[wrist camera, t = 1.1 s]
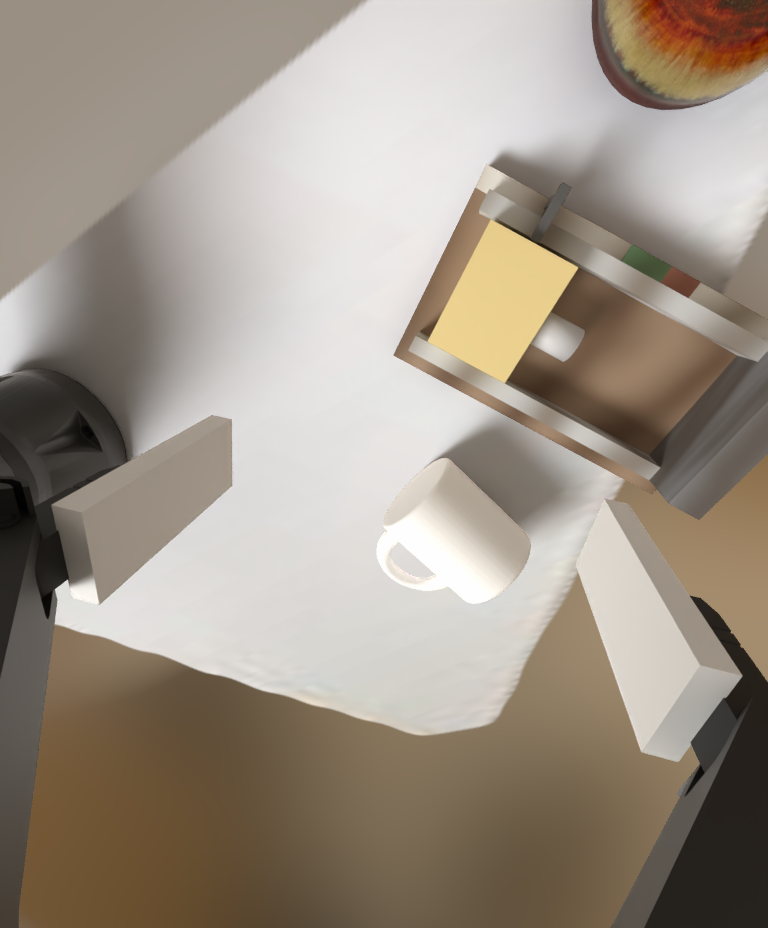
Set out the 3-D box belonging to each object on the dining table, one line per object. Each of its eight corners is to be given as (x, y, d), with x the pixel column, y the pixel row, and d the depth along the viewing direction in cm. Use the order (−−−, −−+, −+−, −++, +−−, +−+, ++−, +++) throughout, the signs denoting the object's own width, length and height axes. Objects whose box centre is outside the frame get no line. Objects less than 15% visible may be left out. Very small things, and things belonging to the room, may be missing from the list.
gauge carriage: (432, 333, 33) (427, 341, 29) (516, 172, 28) (523, 156, 24) (534, 388, 33) (543, 404, 29) (636, 238, 28) (662, 233, 24)
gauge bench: (395, 352, 36) (378, 371, 29) (486, 168, 29) (489, 140, 23) (646, 487, 36) (683, 534, 30) (787, 335, 30) (872, 353, 24)
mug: (451, 443, 38) (445, 483, 31) (526, 517, 40) (537, 571, 32) (364, 519, 43) (341, 569, 36) (434, 582, 45) (426, 642, 38)
